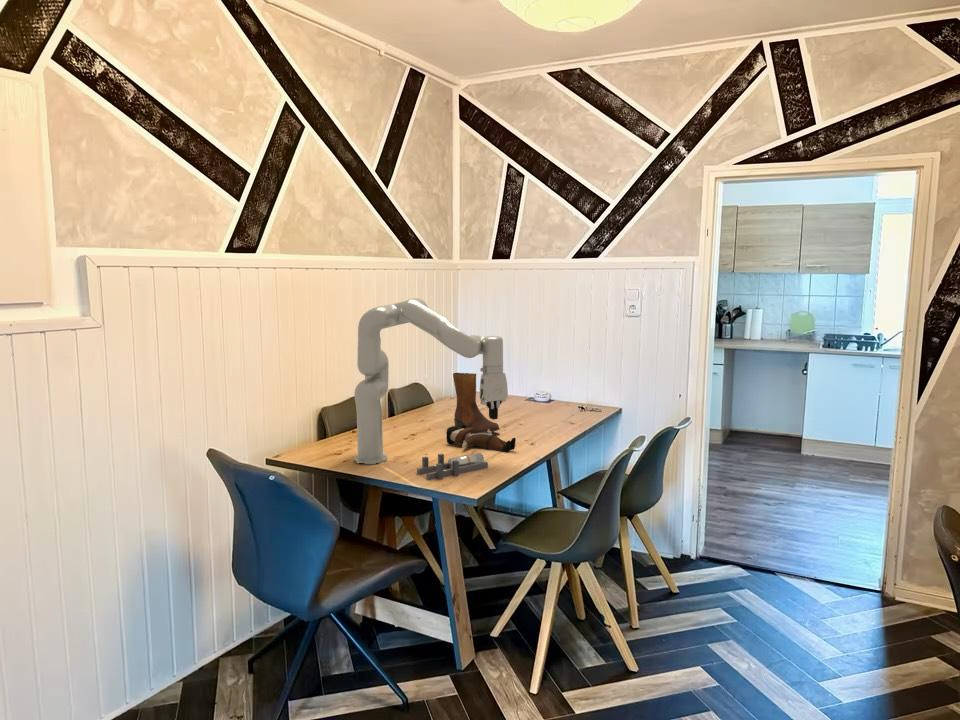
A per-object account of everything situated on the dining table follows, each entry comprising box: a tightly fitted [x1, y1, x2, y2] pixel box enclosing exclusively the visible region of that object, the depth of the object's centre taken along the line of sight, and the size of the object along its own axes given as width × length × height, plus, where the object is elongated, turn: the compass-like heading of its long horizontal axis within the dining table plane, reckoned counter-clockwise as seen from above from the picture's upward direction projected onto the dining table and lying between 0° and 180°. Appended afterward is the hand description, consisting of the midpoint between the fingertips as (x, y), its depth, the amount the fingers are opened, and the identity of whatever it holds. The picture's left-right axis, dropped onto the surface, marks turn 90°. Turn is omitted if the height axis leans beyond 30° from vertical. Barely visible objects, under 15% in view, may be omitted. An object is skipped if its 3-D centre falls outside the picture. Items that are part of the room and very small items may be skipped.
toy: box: [445, 425, 517, 454], centre depth 260 cm, size 24×10×30 cm
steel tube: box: [447, 452, 485, 469], centre depth 231 cm, size 13×4×5 cm, turn 124°
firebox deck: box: [414, 453, 491, 483], centre depth 227 cm, size 12×25×6 cm, turn 124°
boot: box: [452, 372, 501, 434], centre depth 288 cm, size 25×9×27 cm, turn 43°
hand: (493, 418), depth 235 cm, fingers closed
